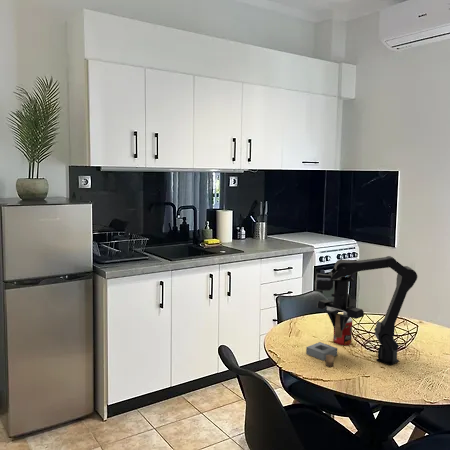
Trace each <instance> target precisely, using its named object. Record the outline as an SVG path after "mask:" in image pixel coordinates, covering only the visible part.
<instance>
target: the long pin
mask: <svg viewBox="0 0 450 450" xmlns="http://www.w3.org/2000/svg"><path fill="white" fill-rule="evenodd" d="M340 315H343V313H338V314H336V318H335V334H334V333H333V336H335V337H337V338H341V337H342V331H341V327H340Z"/></svg>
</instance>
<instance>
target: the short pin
mask: <svg viewBox="0 0 450 450" xmlns="http://www.w3.org/2000/svg"><path fill="white" fill-rule="evenodd" d="M334 362H335V356H333V355H326V360H325V367H326V368H334Z"/></svg>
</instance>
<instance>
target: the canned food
mask: <svg viewBox="0 0 450 450" xmlns="http://www.w3.org/2000/svg"><path fill="white" fill-rule="evenodd" d="M334 334H335V328H334V327H333V335H332V336H333V338H332V339H333V342H334V344H336V345H339V346H350V345H351V343H352V339H353V318H349V319H348V321H347V323H346V325H345V327H344V330H342V337H341V338H337V337H335V336H334Z"/></svg>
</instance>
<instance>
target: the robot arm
mask: <svg viewBox="0 0 450 450" xmlns="http://www.w3.org/2000/svg"><path fill="white" fill-rule="evenodd" d="M386 268H387V269H389V268H390V269H392V270H393V271H394V272H396V275H397V276H396V283H395V284H396V286H395V290H394V292H393V294H392V298H391V300H390V302H389V305H388V308H387V310H386V312H385V316H384V318H383V319H382V320H381V321H378V320H377V322H376V326H375V328H374V329H373V330H374V335H375V337H376V339H377V341H378V342H379V346H378V347H377V358H376V362H380V363H383V364H386V365H388V366H393V365H394V364H397V363H398V362H399V361H400V360H399V359H398V349H399V347H400V346H399V344H398V342H397V341H396V340H395V337H394V336H395V325H396V322H397V319H398V317H399V315H400V312H401V309H402V307H403V304H404V301H405V299H406V297H407V295H408V292H409V291H410V290H411V288H413V287H414V285H415V283H416V281H417V280H418V273H417V271H415V270H414V269H413V268H412V267H410V266H408V265H407V266H406V265H403V264H401V262H398V261H397V260H396V259H395V257H393V256H391V255H388V256H384V257H377V258H368V259H360V260H352V259H338V260H336V262H335V263H334V266H333V268H332V269H331V270H330V271H329V273H328V274H327V273H321V272H320V273H318V272H317V273H316V275H315V280H314V289H315V291H319V292H320V291H323V292H324V291H325V292H331V290H333V293H331V297H332V298H333V299H332V300H330V299H327V298H325V299H321V300H319V301H317V304H316V308H318V309H320V310H324V309H325V308H326V310H325V313H327V316H328V318H329V319H330V322H331V324H332V326H333V329H334V328H335V318H336V314H339V312H341V313H342V312H343V313H342V315H340V327H341V331H342V330H344V327H345V325H346V323H347V321H348V319H349V318H351V319H354V320H357V319H359V318H363V317H364V315H365V314H364V313H365V311H364V310H363V309H362V308H358V307H356V303H357V299H355V298H352V297H351V294H350V293H349V291H350V290H349V289H350V288H349V286H350V283H355V280H354V278H353V277H352V275H354V274H356V273H359V272H364V271H373V270H378V269H386ZM351 307H352V308H351Z"/></svg>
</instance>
